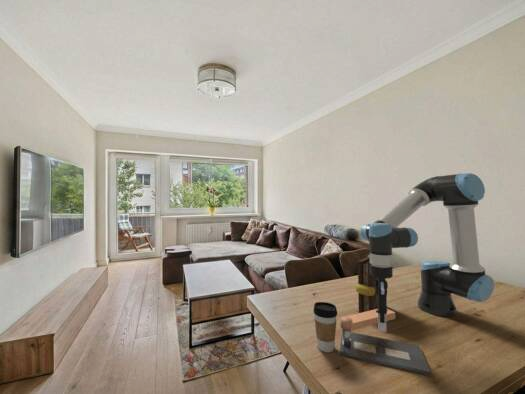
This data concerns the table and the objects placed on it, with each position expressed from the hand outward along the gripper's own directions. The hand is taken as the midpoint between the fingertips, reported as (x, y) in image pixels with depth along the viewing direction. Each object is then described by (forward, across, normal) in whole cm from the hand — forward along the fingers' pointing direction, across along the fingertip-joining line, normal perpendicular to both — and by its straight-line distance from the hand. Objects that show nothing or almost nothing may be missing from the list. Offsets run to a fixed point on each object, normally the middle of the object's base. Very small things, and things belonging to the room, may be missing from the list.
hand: (382, 330), depth 85 cm
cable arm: (-1, -1, -5) cm, 5 cm away
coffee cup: (+6, +9, -19) cm, 22 cm away
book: (+5, -28, -2) cm, 29 cm away
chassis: (+6, +4, -1) cm, 7 cm away
